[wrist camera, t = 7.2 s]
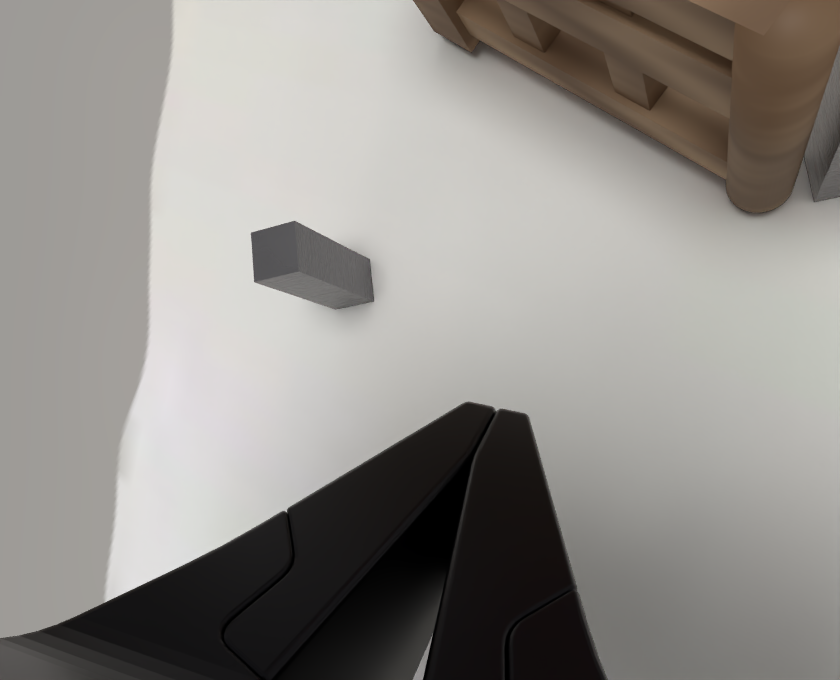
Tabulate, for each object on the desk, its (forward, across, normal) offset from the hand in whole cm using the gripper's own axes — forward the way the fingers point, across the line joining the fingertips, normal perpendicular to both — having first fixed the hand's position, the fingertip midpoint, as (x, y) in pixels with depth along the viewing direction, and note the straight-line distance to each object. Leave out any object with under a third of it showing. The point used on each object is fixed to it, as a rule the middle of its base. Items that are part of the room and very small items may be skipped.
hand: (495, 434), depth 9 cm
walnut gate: (+17, +1, -2) cm, 17 cm away
